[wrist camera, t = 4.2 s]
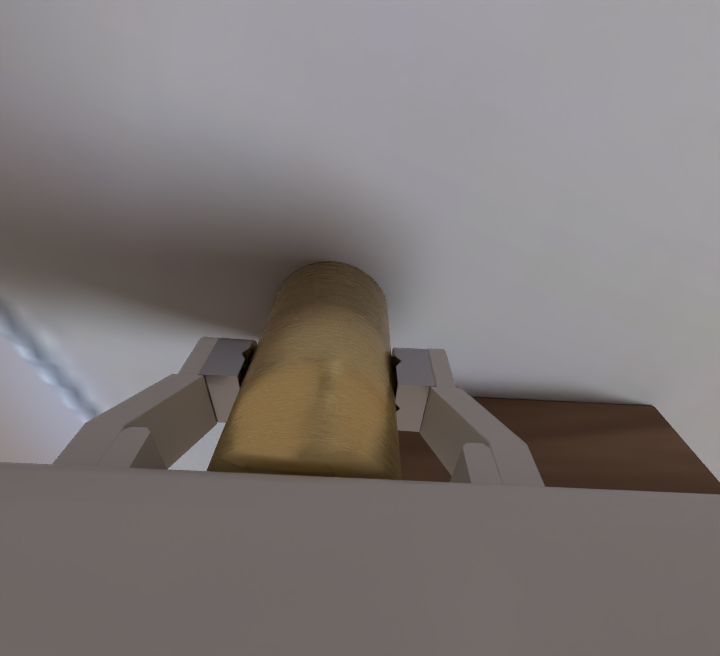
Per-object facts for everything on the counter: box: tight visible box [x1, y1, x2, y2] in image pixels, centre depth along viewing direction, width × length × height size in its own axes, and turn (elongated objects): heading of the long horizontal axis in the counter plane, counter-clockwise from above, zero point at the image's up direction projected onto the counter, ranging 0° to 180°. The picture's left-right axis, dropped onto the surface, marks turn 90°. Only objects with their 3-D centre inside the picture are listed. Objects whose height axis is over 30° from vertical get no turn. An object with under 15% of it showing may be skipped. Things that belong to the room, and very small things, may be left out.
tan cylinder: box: [207, 262, 402, 480], centre depth 10 cm, size 4×4×7 cm
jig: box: [398, 397, 720, 495], centre depth 17 cm, size 16×12×6 cm
